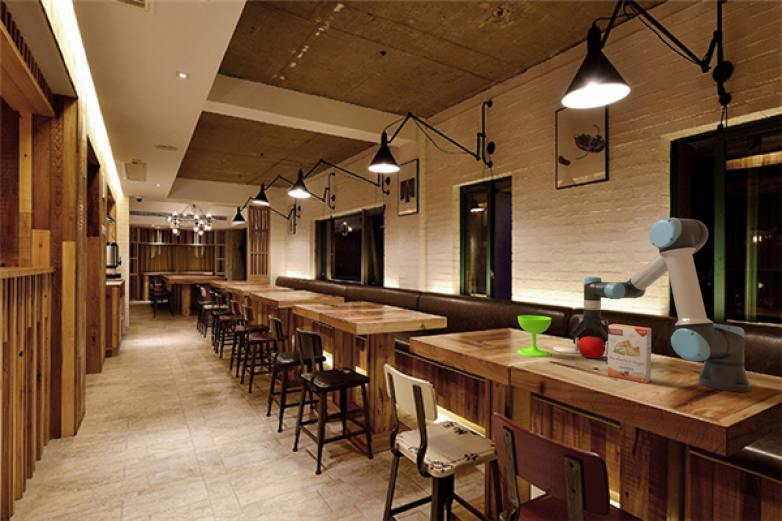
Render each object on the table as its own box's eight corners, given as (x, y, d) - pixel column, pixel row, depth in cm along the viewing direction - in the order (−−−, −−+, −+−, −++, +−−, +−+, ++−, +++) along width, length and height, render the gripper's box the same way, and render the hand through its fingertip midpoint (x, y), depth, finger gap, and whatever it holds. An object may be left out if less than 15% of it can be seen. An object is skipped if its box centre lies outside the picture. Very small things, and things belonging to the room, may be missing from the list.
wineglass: (556, 353, 206) (556, 317, 206) (542, 358, 195) (543, 320, 195) (525, 348, 217) (526, 314, 217) (511, 353, 206) (512, 317, 206)
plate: (581, 355, 203) (581, 353, 203) (548, 350, 213) (548, 348, 213) (590, 350, 215) (590, 348, 215) (558, 345, 225) (558, 344, 225)
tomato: (609, 357, 198) (609, 336, 198) (597, 361, 191) (598, 339, 191) (585, 353, 207) (586, 332, 207) (574, 357, 199) (574, 335, 199)
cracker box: (607, 376, 166) (607, 324, 166) (612, 373, 170) (613, 323, 170) (646, 384, 156) (647, 329, 156) (651, 381, 160) (651, 327, 160)
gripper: (622, 310, 194) (622, 355, 194) (567, 306, 210) (567, 347, 210) (619, 311, 188) (618, 358, 188) (563, 307, 204) (562, 350, 204)
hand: (591, 352), depth 199 cm, fingers open, 13 cm apart
